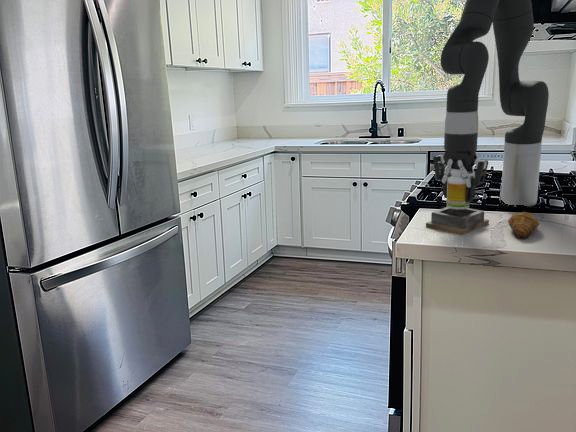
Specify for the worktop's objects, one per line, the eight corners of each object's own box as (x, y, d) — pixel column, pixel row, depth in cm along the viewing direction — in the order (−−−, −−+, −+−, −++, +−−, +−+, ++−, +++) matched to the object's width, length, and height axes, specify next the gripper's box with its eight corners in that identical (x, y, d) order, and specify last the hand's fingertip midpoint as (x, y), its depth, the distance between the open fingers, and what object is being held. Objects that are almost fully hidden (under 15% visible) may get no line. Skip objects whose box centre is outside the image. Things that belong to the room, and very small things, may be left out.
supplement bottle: (470, 210, 125) (472, 170, 122) (447, 210, 126) (449, 170, 123) (467, 204, 130) (469, 166, 127) (445, 204, 131) (446, 166, 128)
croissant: (509, 222, 130) (510, 203, 128) (539, 224, 127) (541, 205, 125) (504, 239, 118) (506, 218, 117) (537, 242, 115) (539, 220, 114)
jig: (453, 216, 137) (454, 203, 136) (488, 223, 129) (489, 210, 128) (425, 226, 129) (426, 213, 128) (460, 235, 122) (461, 221, 121)
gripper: (497, 130, 119) (493, 201, 124) (444, 127, 130) (442, 192, 135) (479, 134, 115) (475, 207, 120) (426, 130, 126) (424, 197, 131)
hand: (458, 199), depth 127 cm, fingers closed on supplement bottle, 5 cm apart
